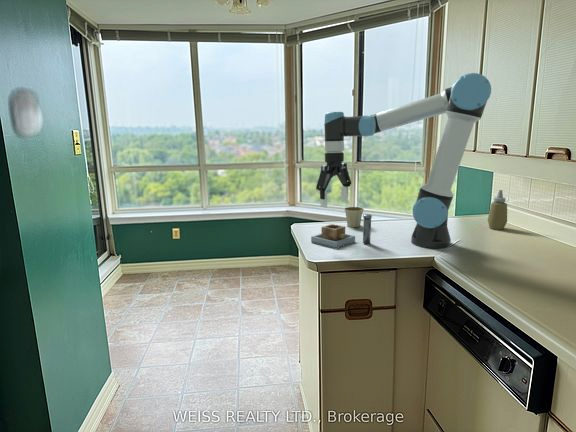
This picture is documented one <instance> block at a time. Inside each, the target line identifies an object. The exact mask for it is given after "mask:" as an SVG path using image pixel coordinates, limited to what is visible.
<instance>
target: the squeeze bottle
mask: <svg viewBox="0 0 576 432" xmlns="http://www.w3.org/2000/svg"><path fill="white" fill-rule="evenodd" d="M487 223H488V227H489V228H490V229H491V230H500V231H501V230H505V227H506V225H507V223H508V204H507V202H506V198H505V197H504V194H503V190H502V189H499V190H498V193H497V195H496V197H494V198H493V201H492V202H491V203H490V208H489V211H488V216H487Z"/></svg>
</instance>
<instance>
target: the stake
mask: <svg viewBox="0 0 576 432" xmlns="http://www.w3.org/2000/svg"><path fill="white" fill-rule="evenodd" d="M372 217H373V215H372V214H369V213H368V214H367V213H365V214H362V218H363V222H362V223H363V225H362V226H363V229H362V230H363V231H362V244H363V243H364V244H363V245H366V244H369V245H371V238H372V237H371V235H372V234H371V232H372V231H371V230H372Z"/></svg>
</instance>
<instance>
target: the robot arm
mask: <svg viewBox="0 0 576 432" xmlns="http://www.w3.org/2000/svg"><path fill="white" fill-rule="evenodd" d="M491 94H492V86H491V82H490V81H489V79H488V78H487V77H486V76H484V75H483V74H480V73H477V72H470V73H466V74H464V75H462V76H460V77H459V78H457V80H456V81H454V83H453V85H452V86H449V87H447V88H444V89H443V91H442V92H441V93H438V94H435V95H431V96H427V97H425V98H422V99H419V100H416V101H415V100H414V101H411V102H409V103H406V104H402V105H399V106H396V107H393V108H389V109H387V110H383V111H380V112H377V113H374V114H370V115H356V116H345V113H344V112H343V111H327V112H326V113H325V115H324V124H323V126H324V127H323V128H324V152H325V153H324V162H325V163H326V165H325V164H324V165H323V164H322V165H321V167H320V173H319V176H318V180H317V184H316V186H315V189H316V191H319V199H320V207H321V208H326V209H327V208H328V191H327V188H328V186H329V184H330V182H331V180H332V178H333V177H336V176H337V179H338V180H339V181H340V184H341V188H340V189H341V191H340V194H341V195H340V200H341V201H340V202H341V203H348V201H349V200H348V199H349V198H348V194H349V187H351V185H352V181H351V177H350V174H349V170H348V164H347V162H344V160H345V159H344V157H345V154H344V151H345V139H344V138H345V137H371V136H374V135H375V134H378V133H381V132H384V131H387V130H388V131H389V130H391V129H395V128H399V127H401V126H405V125H406V126H407V125H409V124H413V123H415V122H419V121H422V120H426V119H430V118H433V117H436V116H440V115H443V114H444V115H445V114H446V116H447V120H446V123H445V126H444V128H443V132H442V136H441V138H440V142H439V144H438V148H437V150H436V154H435V157H434V160H433V163H432V165H431V169H430V172H429V174H428V178H427V181H426V183H424V184H423V185H421V186H420V188H419V189H418V193H417V198H416V201H415V203H414V204H413V207H412V216H413V219H414V221H415V222H416V224H415V228H414V230H413V231H412V234H411V239H410V242H411V243H412V244H413V245H416V246H418V247H423V248H427V247H428V248H429V249H445V248H448V247H450V246H451V241H452V240H451V239H452V238H451V235H450V231H449V228H448V219H449V218H448V217H449V210H450V207H451V204H452V201H453V198H454V194H453V192H452V188H453V185H454V183H455V182H454V181H455V179H456V176H457V174H458V171H459V167H460V165H461V161H462V159H463V156H464V154H465V150H466V148H467V144H468V142H469V139H470V137H471V134H472V131H473V127H474V124H476V122H478V121H480V120H481V119H482V116H483V113H484V110H485V108H486V105H487V102H488V100H489V99H490V97H491Z"/></svg>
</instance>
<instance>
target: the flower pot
mask: <svg viewBox="0 0 576 432" xmlns="http://www.w3.org/2000/svg"><path fill="white" fill-rule="evenodd" d="M343 210H344V212H345V218H346V225H347V227H349V228H360V227H361V221H362V218H363V212H364V210H365V208H364V207H360V206H348V207H344V208H343ZM359 226H360V227H359Z"/></svg>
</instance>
